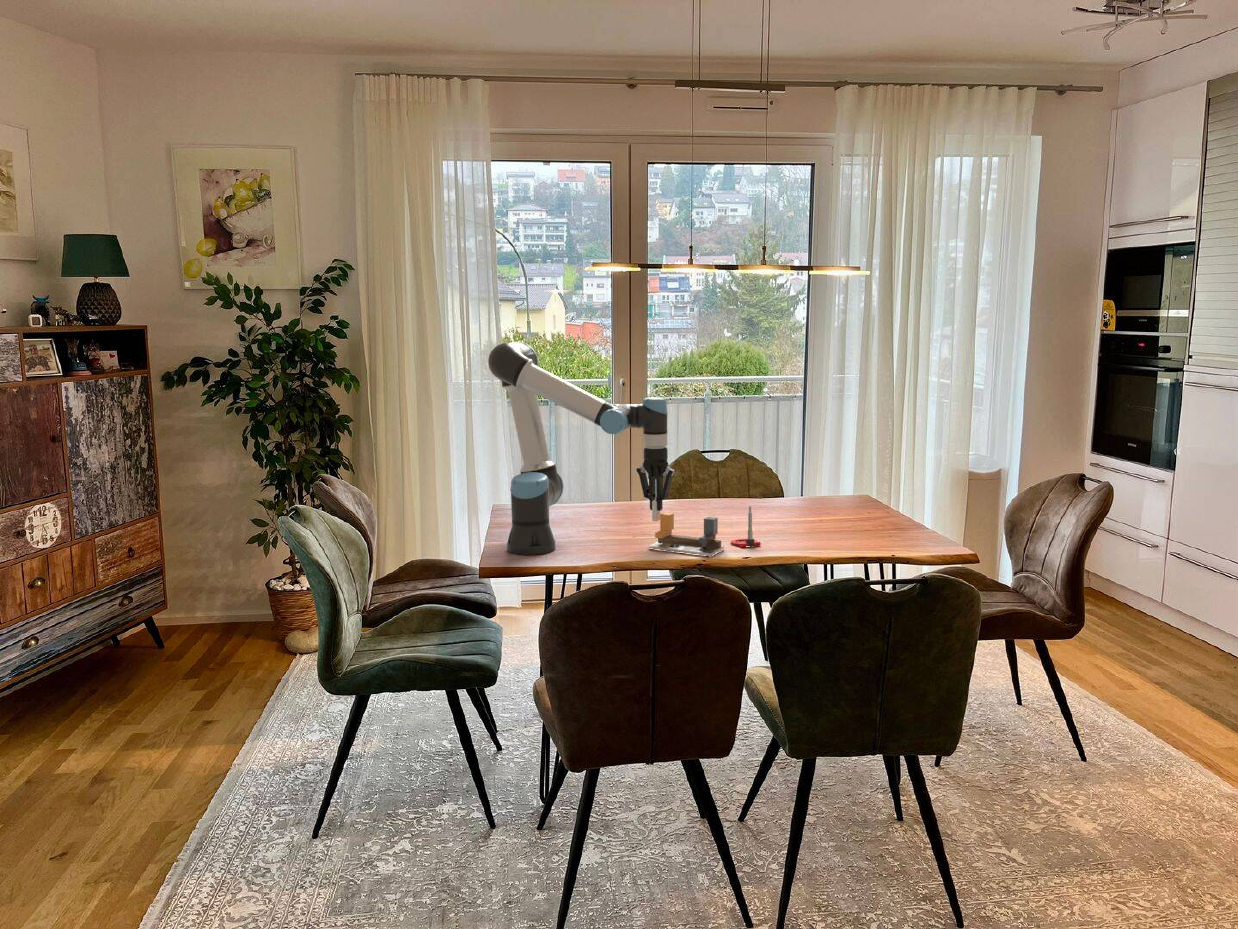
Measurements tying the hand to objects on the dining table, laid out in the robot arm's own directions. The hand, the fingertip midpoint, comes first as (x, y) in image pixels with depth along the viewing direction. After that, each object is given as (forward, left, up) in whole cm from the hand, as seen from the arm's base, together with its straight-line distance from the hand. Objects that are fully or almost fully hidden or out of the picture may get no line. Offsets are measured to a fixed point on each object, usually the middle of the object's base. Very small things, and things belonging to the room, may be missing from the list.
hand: (656, 520), depth 297 cm
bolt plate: (-3, -12, -8) cm, 14 cm away
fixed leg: (-2, -19, -6) cm, 20 cm away
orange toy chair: (-2, -4, -6) cm, 7 cm away
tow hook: (+12, -25, -8) cm, 29 cm away
